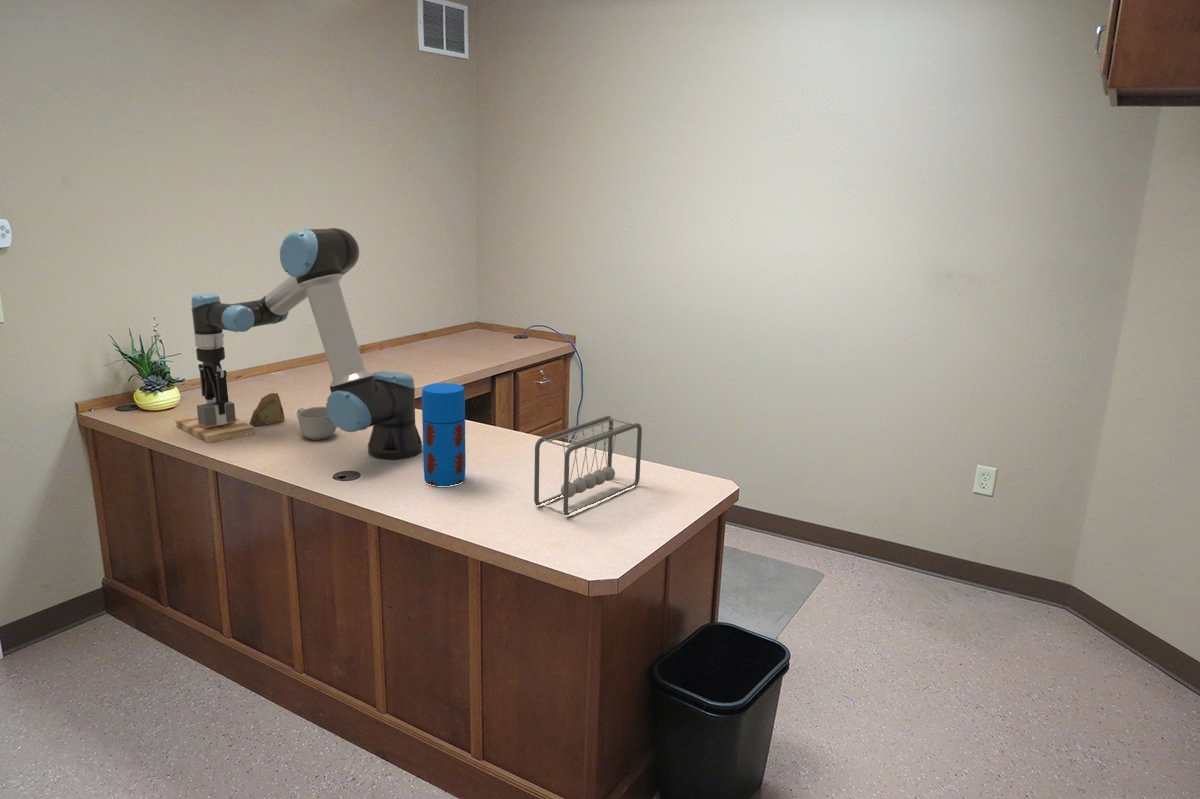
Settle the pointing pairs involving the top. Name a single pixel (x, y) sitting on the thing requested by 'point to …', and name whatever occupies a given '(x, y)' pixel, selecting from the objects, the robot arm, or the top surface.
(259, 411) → the rock
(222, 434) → the board
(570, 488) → the newton's cradle
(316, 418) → the teacup
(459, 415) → the thermos
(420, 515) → the top surface
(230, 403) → the block
